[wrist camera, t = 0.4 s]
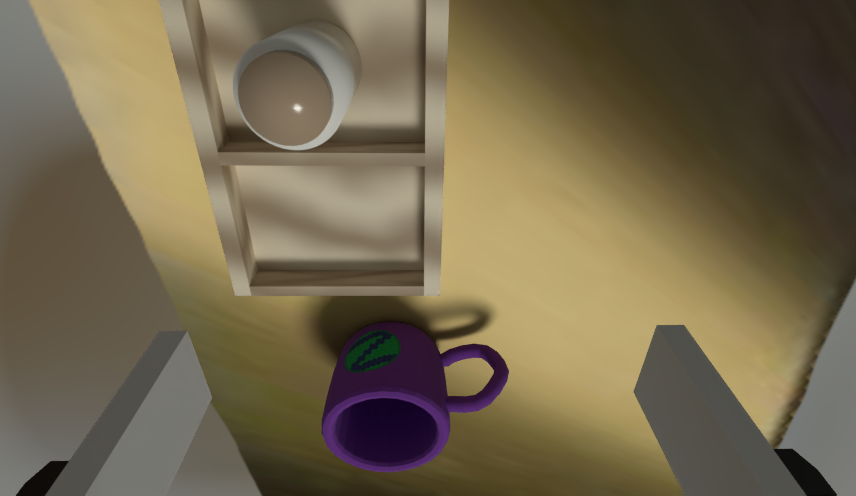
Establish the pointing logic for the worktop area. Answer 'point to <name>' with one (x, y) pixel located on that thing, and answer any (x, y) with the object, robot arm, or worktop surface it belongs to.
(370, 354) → the mug
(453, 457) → the worktop surface
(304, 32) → the ceramic jar
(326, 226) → the rack
